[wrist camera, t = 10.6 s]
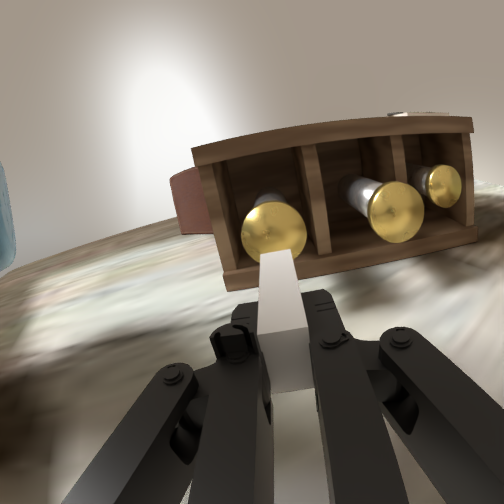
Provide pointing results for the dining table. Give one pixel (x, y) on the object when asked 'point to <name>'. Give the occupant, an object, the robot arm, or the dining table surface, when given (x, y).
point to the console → (335, 188)
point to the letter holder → (190, 202)
